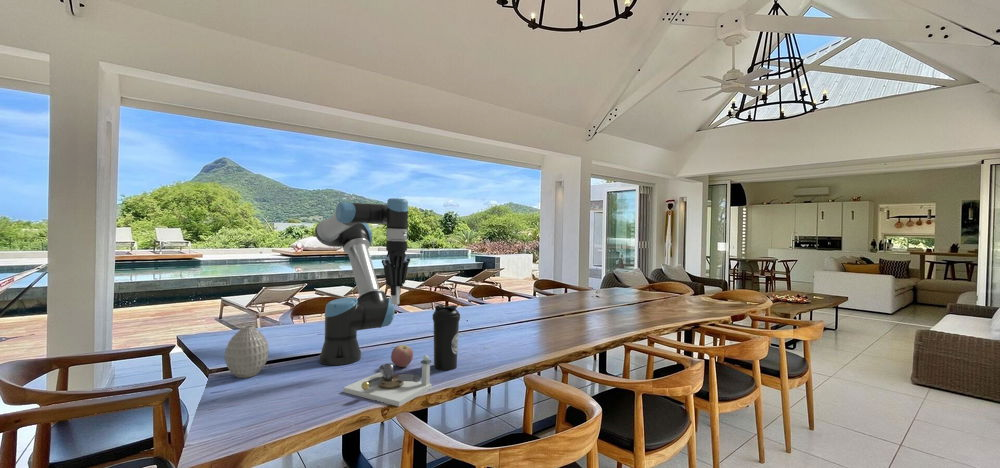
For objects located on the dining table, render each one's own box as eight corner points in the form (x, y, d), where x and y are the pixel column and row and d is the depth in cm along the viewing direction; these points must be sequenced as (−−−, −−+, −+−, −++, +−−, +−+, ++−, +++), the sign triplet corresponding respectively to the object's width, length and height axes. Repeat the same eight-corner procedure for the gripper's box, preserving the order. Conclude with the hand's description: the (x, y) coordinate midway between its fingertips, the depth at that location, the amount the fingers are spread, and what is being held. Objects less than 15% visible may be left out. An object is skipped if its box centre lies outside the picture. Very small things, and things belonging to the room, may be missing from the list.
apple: (393, 371, 151) (394, 349, 151) (388, 365, 158) (389, 343, 158) (415, 368, 155) (415, 346, 154) (409, 362, 161) (410, 341, 161)
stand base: (343, 392, 131) (344, 357, 131) (379, 376, 145) (379, 345, 145) (399, 406, 121) (399, 369, 121) (431, 388, 136) (432, 354, 135)
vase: (276, 371, 148) (277, 324, 148) (244, 383, 136) (244, 332, 136) (249, 366, 152) (250, 321, 152) (215, 378, 140) (216, 328, 140)
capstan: (382, 402, 120) (383, 380, 120) (342, 388, 130) (343, 367, 130) (421, 385, 133) (422, 365, 133) (383, 374, 143) (383, 355, 143)
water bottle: (454, 372, 151) (455, 308, 151) (427, 369, 153) (428, 307, 153) (462, 363, 161) (463, 304, 161) (437, 361, 163) (438, 302, 163)
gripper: (391, 241, 148) (390, 307, 148) (416, 240, 159) (414, 302, 159) (376, 240, 151) (374, 305, 152) (401, 239, 163) (399, 300, 163)
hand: (395, 303), depth 156 cm, fingers closed
